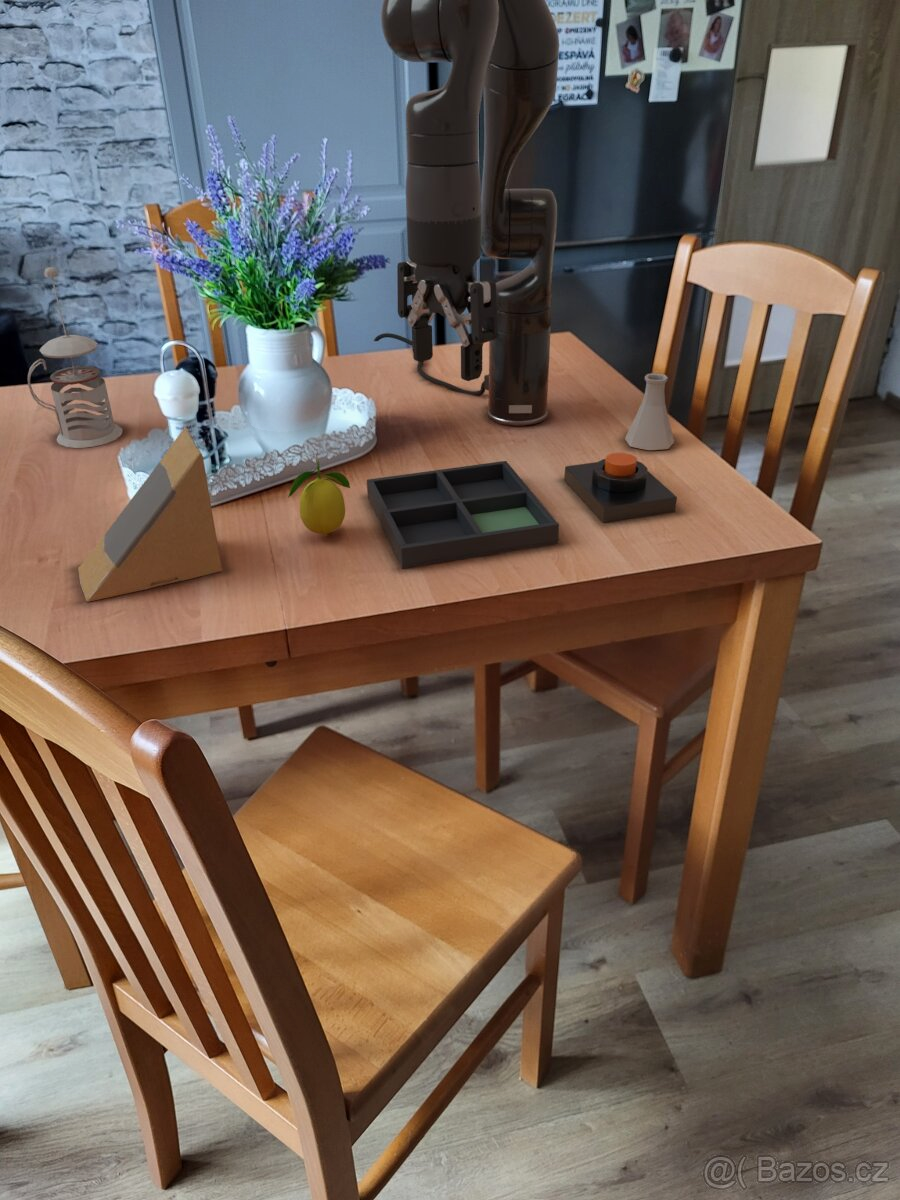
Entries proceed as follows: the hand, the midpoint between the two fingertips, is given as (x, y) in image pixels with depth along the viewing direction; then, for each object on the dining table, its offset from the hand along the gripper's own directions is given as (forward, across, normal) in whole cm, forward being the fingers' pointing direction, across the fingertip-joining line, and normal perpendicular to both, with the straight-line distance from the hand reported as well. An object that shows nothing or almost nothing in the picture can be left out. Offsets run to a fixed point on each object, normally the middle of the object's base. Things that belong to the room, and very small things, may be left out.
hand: (446, 369), depth 102 cm
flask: (+22, +5, -42) cm, 47 cm away
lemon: (+22, +11, +11) cm, 27 cm away
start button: (+18, -4, -25) cm, 31 cm away
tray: (+22, +4, -4) cm, 22 cm away
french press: (+22, +62, +23) cm, 70 cm away
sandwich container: (+22, +17, +31) cm, 42 cm away
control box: (+21, -4, -25) cm, 33 cm away
